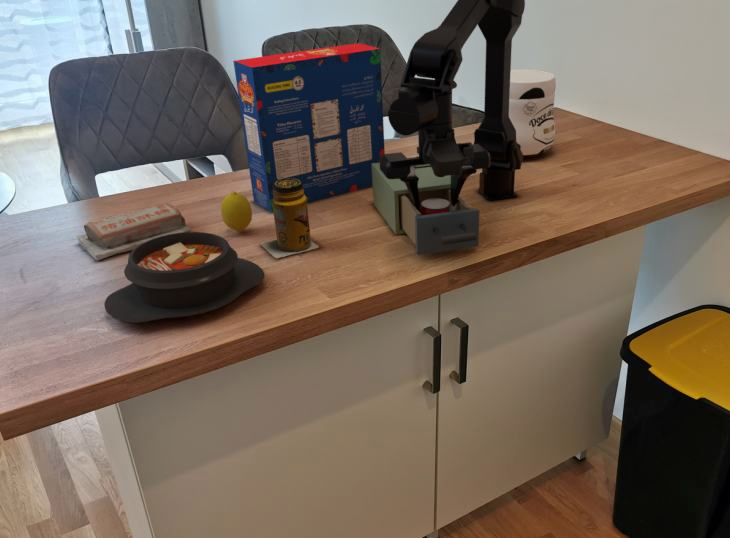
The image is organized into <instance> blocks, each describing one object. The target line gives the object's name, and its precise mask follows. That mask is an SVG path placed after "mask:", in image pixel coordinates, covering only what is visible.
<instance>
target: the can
mask: <svg viewBox="0 0 730 538" xmlns="http://www.w3.org/2000/svg"><path fill="white" fill-rule="evenodd" d="M421 206H422V215H429V214H437V213H444V212H449V206H450V203H449V201H447V200H445V199H439V198H432V199H427V200H424V201H423V202H422V203H421Z"/></svg>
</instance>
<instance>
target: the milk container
mask: <svg viewBox="0 0 730 538" xmlns="http://www.w3.org/2000/svg"><path fill="white" fill-rule="evenodd" d="M555 91H556V75H554V74H553V73H552V72H549V71H545V70H540V69H532V68H531V69H530V68H511V72H510V95H509V118H510V120H511V122H512V124H513V126H514V128H515V130H516V142H517V144H518V146H519V148H520V150H521V152H522V154H523V159H525V158H535V157H539V156H542V155H544V154H546V153H548V152H550V151H551V150H552V148H553V146H554V143H555V138H556V124H555V118H554V107H555V106H554V105H555V97H556V94H555Z"/></svg>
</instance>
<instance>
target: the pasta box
mask: <svg viewBox="0 0 730 538" xmlns="http://www.w3.org/2000/svg"><path fill="white" fill-rule="evenodd" d="M381 58H382V57H381V48H380V47H375V46H372V45H368V44H363V43H359V42H357V43H351V44H350V43H349V44H342V45H336V46H330V47H329V46H328V47H322V48H315V49H314V48H313V49H306V50H300V51H294V52H286V53H279V54H278V53H277V54H271V55H265V56H257V57H251V58H242V59H235V60H233V67H234V75H235V81H236V82H235V83H236V89H237V95H238V102H239V108H240V116H241V123H242V129H243V137H244V143H245V151H246V157H247V162H248V170H249V178H250V185H251V191H252V197H253V202H254V203H255V204H257V205H258V206H260V207H262V208H263V209H264V210H266V211H268V212H269V213H271V214H272V213H273V214H274V212H273V205H272V199H273V197H274V195H273V187H272V186H273V184H274V182H276V181H277V180H281V179H288V178H291V179H292V178H293V179H298V180H300V181H301V182H302V184H303V190H304V195H305V196H306V200H307V204H311V203H314V202H318V201H322V200H326V199H331V198H334V197H337V196H341V195H345V194H349V193H353V192H357V191H360V190H364V189H368V188H373V184H372V165H371V164H372V163H380V158H381V156H382V155H383V154H386V153H385V152H386V150H385V129H384V127H385V126H384V125H385V124H384V105H383V82H382V81H383V80H382V60H381Z"/></svg>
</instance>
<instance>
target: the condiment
mask: <svg viewBox="0 0 730 538" xmlns="http://www.w3.org/2000/svg"><path fill="white" fill-rule="evenodd" d="M272 187H273V195H274V197H273V199H272V205H273V220H274V227H275V234H276V239H275V240H271V241H266V242H265V241H264V242H261V243H260V245H261V246H262V247H263V249H265V251H267V252H268V253H269V254H270V255H271V256H272V257H273V258H275V259H280V258H284V257H286V256H291V255H295V254H301V253H304V252H309V251H313V250H317V249H319V248H320V246H319V245H318V244H316V243H315V242H313V241H312V239H311V229H310V220H309V219H310V218H309V210H308V203H307V200H306V196H305V195H304V190H303V184H302V182H301V181H300V180H298V179H293V178H292V179H291V178H288V179H281V180H277V181H276V182H274V184H273V186H272Z"/></svg>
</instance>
